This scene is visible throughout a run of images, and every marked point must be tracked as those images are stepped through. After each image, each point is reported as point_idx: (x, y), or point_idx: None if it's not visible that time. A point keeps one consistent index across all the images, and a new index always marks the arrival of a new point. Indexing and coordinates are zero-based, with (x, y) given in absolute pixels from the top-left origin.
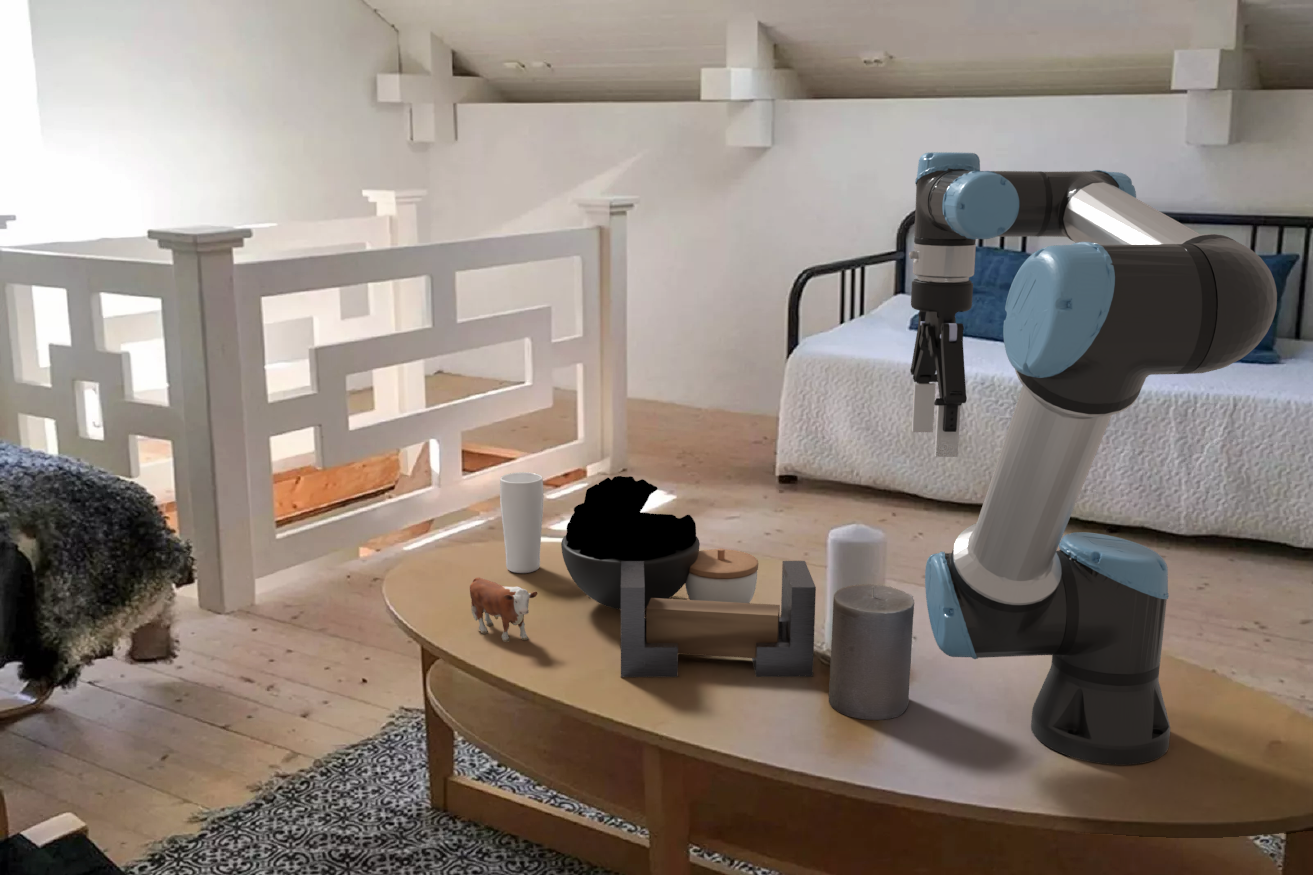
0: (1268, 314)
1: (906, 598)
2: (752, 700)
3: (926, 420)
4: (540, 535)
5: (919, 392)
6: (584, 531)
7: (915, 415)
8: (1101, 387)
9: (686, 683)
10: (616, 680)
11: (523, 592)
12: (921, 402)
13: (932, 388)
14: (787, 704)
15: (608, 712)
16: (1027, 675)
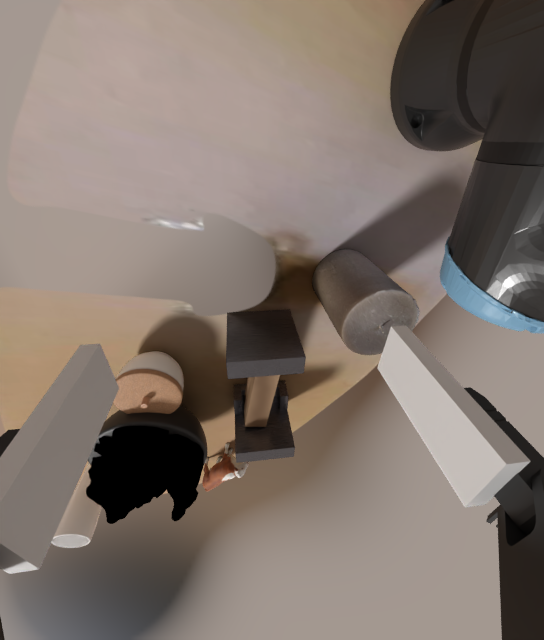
0: None
1: (390, 297)
2: (323, 344)
3: (91, 389)
4: (89, 482)
5: (51, 514)
6: (164, 486)
7: (98, 428)
8: None
9: (294, 376)
10: None
11: (241, 474)
12: (69, 462)
13: (9, 510)
14: (333, 326)
15: (327, 403)
16: (301, 101)
